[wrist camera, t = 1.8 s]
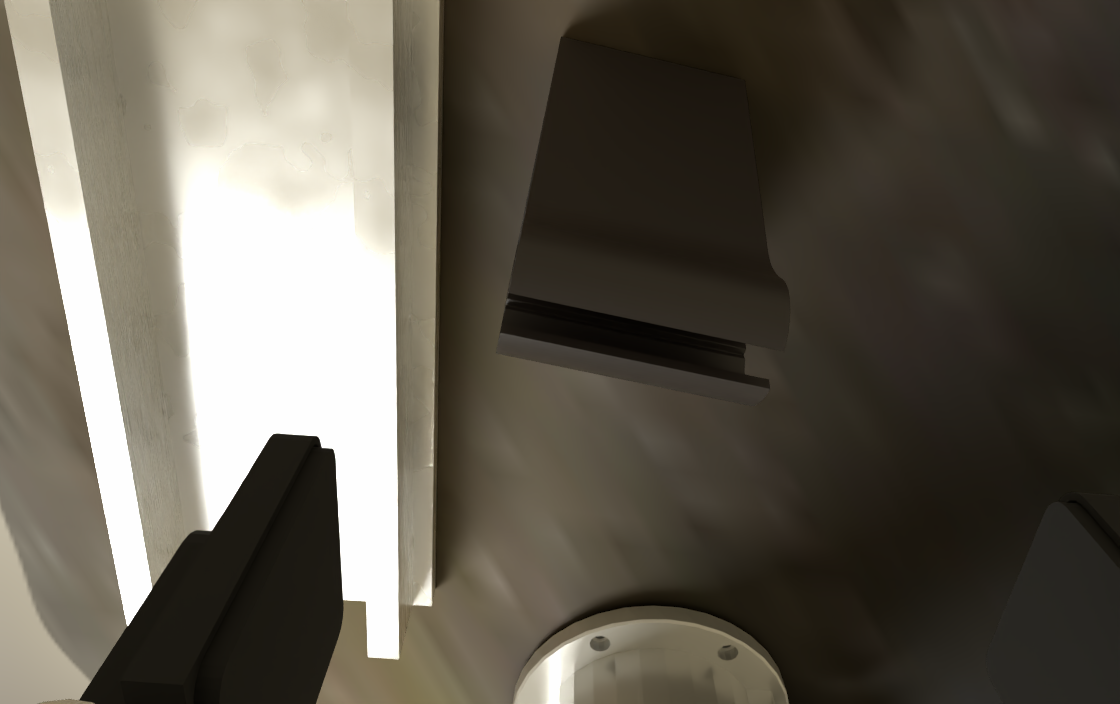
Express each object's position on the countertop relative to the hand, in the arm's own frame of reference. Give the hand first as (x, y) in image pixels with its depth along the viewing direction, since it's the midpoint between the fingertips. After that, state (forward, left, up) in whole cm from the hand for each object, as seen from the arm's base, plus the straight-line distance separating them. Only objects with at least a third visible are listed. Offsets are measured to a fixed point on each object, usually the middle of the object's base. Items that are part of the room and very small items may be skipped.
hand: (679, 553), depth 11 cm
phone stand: (0, 0, -19) cm, 19 cm away
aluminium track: (+12, +4, -19) cm, 23 cm away
